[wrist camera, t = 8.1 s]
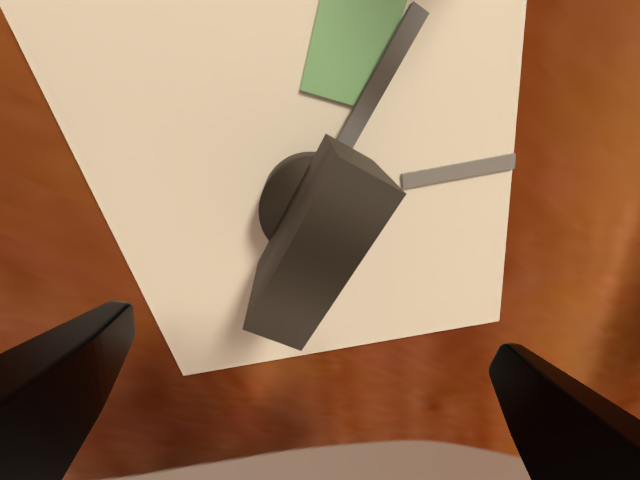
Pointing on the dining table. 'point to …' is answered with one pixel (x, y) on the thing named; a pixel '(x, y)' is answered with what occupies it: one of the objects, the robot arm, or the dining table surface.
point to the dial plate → (285, 151)
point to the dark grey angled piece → (324, 214)
